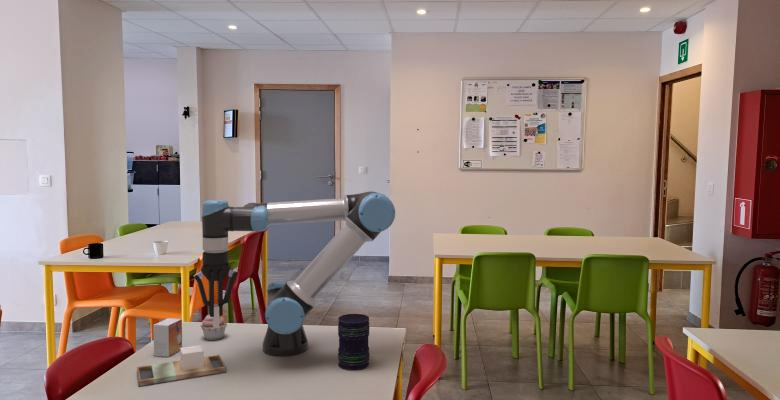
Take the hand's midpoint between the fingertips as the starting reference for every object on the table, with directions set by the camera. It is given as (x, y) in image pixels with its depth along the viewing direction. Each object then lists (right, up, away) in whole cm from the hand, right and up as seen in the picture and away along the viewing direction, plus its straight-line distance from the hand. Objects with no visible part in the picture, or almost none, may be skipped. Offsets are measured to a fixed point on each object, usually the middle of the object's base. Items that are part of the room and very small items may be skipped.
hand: (216, 326), depth 169 cm
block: (-6, -11, -3) cm, 13 cm away
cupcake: (-10, -11, +28) cm, 32 cm away
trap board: (-9, -13, -4) cm, 16 cm away
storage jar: (+42, -13, +3) cm, 44 cm away
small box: (-20, -12, +13) cm, 27 cm away
